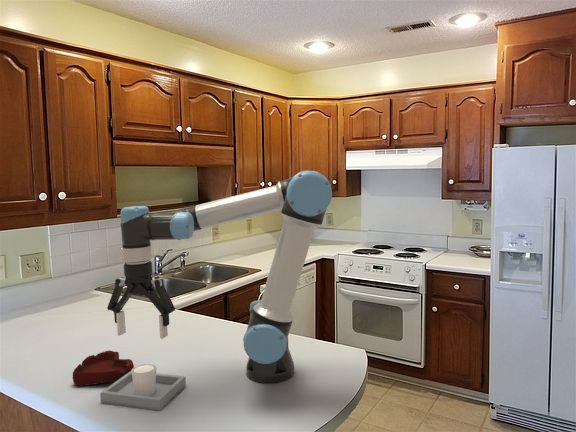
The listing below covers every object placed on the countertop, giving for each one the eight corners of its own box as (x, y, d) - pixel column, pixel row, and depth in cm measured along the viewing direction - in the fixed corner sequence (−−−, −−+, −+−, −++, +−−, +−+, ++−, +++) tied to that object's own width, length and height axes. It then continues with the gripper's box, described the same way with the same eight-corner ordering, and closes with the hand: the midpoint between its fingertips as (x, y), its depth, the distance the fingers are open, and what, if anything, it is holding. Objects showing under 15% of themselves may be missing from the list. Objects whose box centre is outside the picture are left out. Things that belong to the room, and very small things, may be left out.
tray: (185, 386, 134) (185, 376, 134) (159, 410, 120) (159, 400, 120) (131, 379, 139) (131, 370, 138) (100, 403, 125) (100, 392, 125)
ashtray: (63, 378, 142) (62, 362, 141) (113, 362, 153) (113, 348, 153) (85, 397, 129) (84, 380, 128) (138, 378, 140) (138, 362, 140)
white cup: (131, 399, 125) (130, 375, 125) (133, 388, 132) (132, 365, 131) (157, 396, 127) (156, 372, 126) (157, 385, 134) (156, 362, 133)
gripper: (184, 259, 126) (188, 333, 128) (108, 258, 133) (113, 328, 135) (170, 265, 119) (175, 343, 121) (90, 263, 126) (96, 337, 128)
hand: (142, 335), depth 128 cm, fingers open, 13 cm apart
